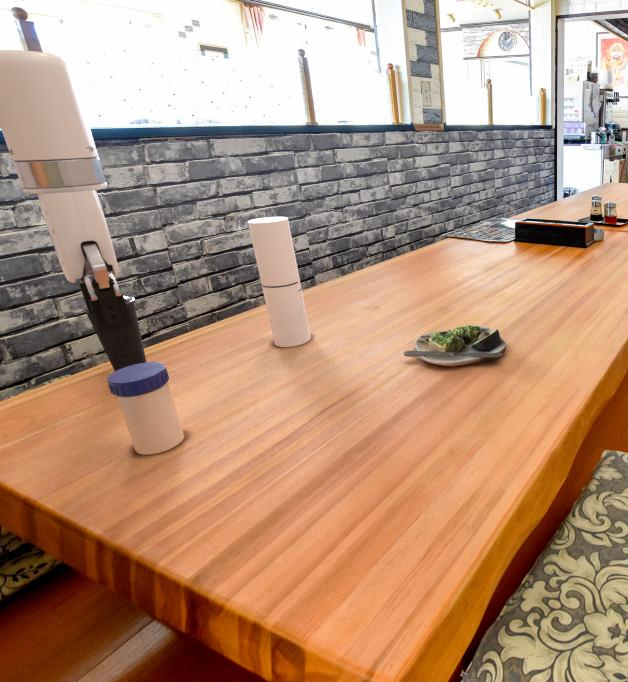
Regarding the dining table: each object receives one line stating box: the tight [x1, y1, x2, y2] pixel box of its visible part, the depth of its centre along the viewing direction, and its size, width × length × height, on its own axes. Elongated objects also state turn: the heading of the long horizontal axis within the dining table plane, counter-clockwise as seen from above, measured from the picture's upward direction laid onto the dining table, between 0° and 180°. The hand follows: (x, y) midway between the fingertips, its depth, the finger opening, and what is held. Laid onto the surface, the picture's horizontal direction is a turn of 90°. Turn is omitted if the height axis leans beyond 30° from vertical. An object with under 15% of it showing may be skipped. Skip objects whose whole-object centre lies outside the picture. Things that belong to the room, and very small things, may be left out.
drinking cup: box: [81, 295, 147, 372], centre depth 94 cm, size 8×8×20 cm
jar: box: [115, 381, 185, 456], centre depth 74 cm, size 6×6×11 cm
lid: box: [106, 361, 170, 397], centre depth 72 cm, size 7×7×2 cm
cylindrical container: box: [247, 216, 312, 348], centre depth 106 cm, size 7×7×25 cm
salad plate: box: [403, 324, 507, 368], centre depth 101 cm, size 19×18×5 cm
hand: (110, 319), depth 66 cm, fingers open, 9 cm apart
